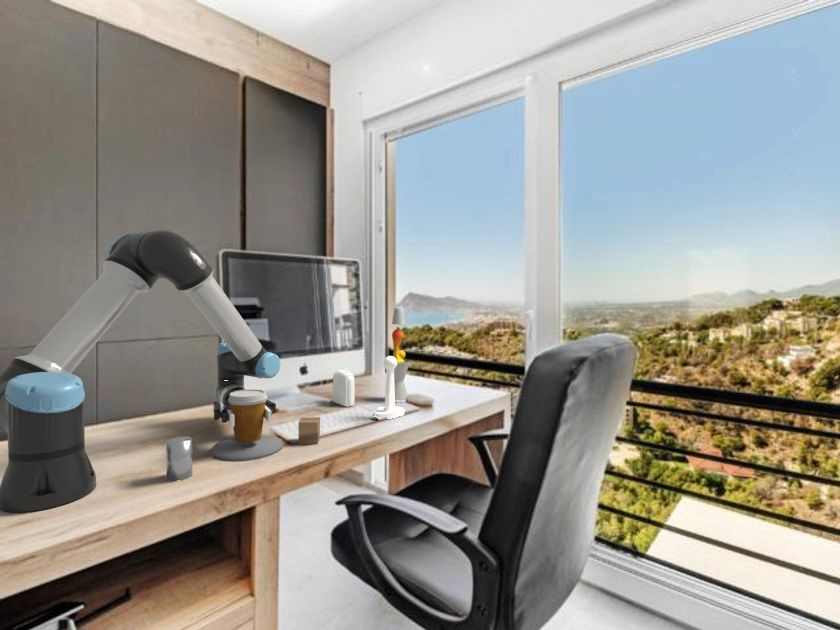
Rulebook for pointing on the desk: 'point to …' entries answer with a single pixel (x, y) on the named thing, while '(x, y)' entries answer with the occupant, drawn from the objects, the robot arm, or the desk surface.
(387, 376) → the joystick
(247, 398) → the disposable coffee cup
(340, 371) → the photo printer
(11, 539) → the desk surface
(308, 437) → the walnut block
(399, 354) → the lava lamp
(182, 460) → the chrome cylinder
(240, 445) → the round gray coaster
